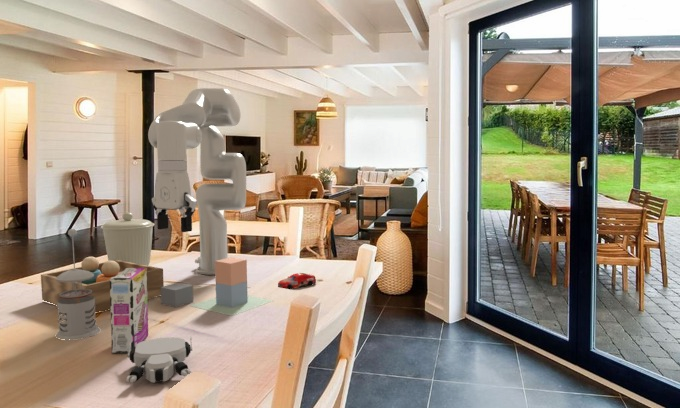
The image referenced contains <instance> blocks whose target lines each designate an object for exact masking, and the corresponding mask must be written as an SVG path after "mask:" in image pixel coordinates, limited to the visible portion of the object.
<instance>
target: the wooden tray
mask: <svg viewBox="0 0 680 408" xmlns="http://www.w3.org/2000/svg"><path fill="white" fill-rule="evenodd" d="M114 261H115V262H117V263H118V264H119V267H120V270H119V272H121V271H123V270H124V269H126V268H147V300H150V299H154V298H157V297H161V287H163V286H165V285H164V284H165V283H164V281H165V280H164V268H162V267H157V266H156V267H155V266H152V265H148V266H146V265H141V264H136V263H131V262H125V261H120V260H114ZM105 262H106V261H105ZM105 262H99V267H98V269H97V270H100V271H101V273H102V270H101V269H102V265H103V264H104V263H105ZM72 269H74V267H72V268H69V269H63V270H59V271H52V272H49V273H43V274H42V273H41V274H40V284H41V301H42V300H44V301H47V302H50V303H53V304H55V305H57V301H58V300H60V299H62V298H60V297H59V294H61V293H63V292H65V291H66V292H67V291H69V290H70V291H71V290H74V289H73V283H72V282H59V281H57V280H56V277H58V276H59V275H60V274H62V273H63V272H66V271H68V270H72ZM75 269H80V270H83V269H82V266H80V267H75ZM102 274H103V273H102ZM74 283H75V282H74ZM76 283H79V282H76ZM74 286H75V285H74ZM76 289H77V290H79V289H80V290H81V283H80V284H76ZM82 289H85V290H86V289H89V290H92V291H93V292H92V294H91V296H94V297H95V311H94V312H99V311H104V312H106V311H105V310H107V311H109V310H108V309H111V307H110V306H111V305H110V280H106V281H102V282H97V283H93V284H89V285H87V284H83V283H82ZM77 303H79V298H76V304H77ZM93 308H94V307H93ZM91 312H92V311H91ZM94 312H93V313H94Z"/></svg>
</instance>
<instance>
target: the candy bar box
mask: <svg viewBox="0 0 680 408" xmlns="http://www.w3.org/2000/svg"><path fill="white" fill-rule="evenodd" d="M109 280H110V305H111V306H110V307H111V310H110V324H111V325H110V328H111V329H110V331H111V332H110V334H111V338H110V339H111V354H128V353H129V343H131V346H130V351H131V350H132V349H133V347H136V344H138V343H140V342H142V341H146V338H147V337H148V336H149V313H148V312H149V311H148V305H149V304H148V299H147V268H126V269H124V270H123V271H121V272H120V273H118V274H117V275H115V276H113V277H112V278H110V279H109Z"/></svg>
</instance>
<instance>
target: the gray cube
mask: <svg viewBox="0 0 680 408" xmlns="http://www.w3.org/2000/svg"><path fill="white" fill-rule="evenodd" d="M193 286H194V285H193V284H187V283H181V282H176V283H171V284H167V285H164V286H163V287H161V296H160V298H161V299H160V302H161V303H160V304H161V305H165V306H169V307H172V308H179V307H181V306H185V305H188V304H191V303H194V289H193V288H194V287H193Z"/></svg>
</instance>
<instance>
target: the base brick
mask: <svg viewBox="0 0 680 408" xmlns="http://www.w3.org/2000/svg"><path fill="white" fill-rule="evenodd" d="M248 296H249V295H248V280H247V281H246V282H242V283H239V284H235V285H232V286H230V285H225V284H220V283H216V282H215V298H216V304H218V305H222V306H227V307H231V308H232V307H235V306H238V305H241V304H244V303H247V302H248Z"/></svg>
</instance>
